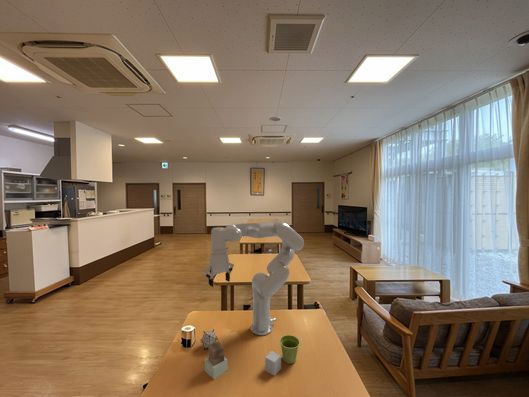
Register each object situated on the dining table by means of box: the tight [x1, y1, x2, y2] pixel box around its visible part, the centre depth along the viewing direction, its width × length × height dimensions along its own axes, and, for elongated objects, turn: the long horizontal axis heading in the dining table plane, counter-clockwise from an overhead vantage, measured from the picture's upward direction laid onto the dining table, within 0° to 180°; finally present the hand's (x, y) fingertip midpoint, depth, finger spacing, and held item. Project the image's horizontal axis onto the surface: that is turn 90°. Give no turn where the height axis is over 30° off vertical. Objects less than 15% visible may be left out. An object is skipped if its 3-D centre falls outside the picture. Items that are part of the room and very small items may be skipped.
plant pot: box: [279, 334, 301, 365], centre depth 108 cm, size 9×9×9 cm
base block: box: [204, 356, 229, 380], centre depth 101 cm, size 7×7×5 cm
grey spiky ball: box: [200, 329, 219, 351], centre depth 116 cm, size 9×8×10 cm
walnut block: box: [207, 341, 225, 366], centre depth 101 cm, size 5×5×6 cm
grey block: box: [264, 350, 282, 376], centre depth 102 cm, size 5×5×6 cm
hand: (219, 283), depth 122 cm, fingers open, 9 cm apart
